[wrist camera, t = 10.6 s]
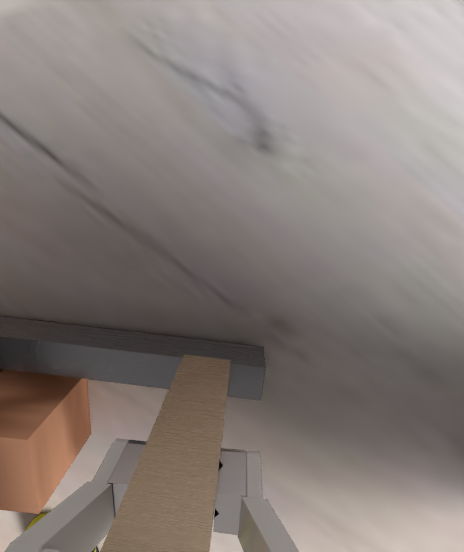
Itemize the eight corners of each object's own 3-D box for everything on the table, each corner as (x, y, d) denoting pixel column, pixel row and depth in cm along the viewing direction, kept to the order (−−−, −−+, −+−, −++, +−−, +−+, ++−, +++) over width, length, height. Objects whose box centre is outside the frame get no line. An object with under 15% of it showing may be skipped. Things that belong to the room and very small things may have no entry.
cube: (87, 372, 17) (26, 439, 12) (91, 432, 19) (39, 513, 14) (11, 364, 17) (-78, 428, 12) (21, 424, 19) (-56, 503, 14)
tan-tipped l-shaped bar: (263, 343, 15) (290, 587, 6) (247, 453, 17) (247, 761, 8) (-36, 309, 16) (-478, 475, 6) (-14, 419, 18) (-313, 667, 8)
